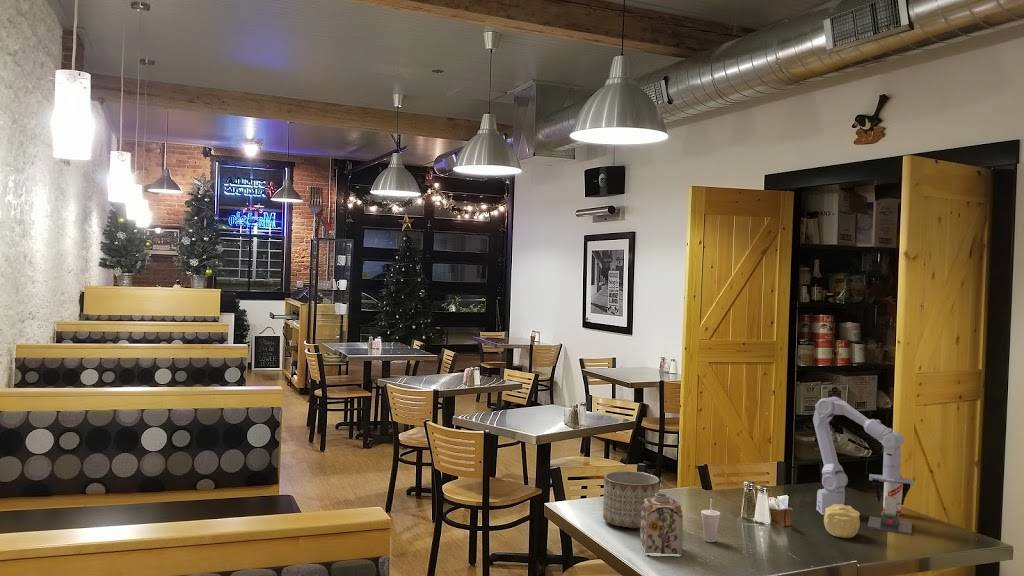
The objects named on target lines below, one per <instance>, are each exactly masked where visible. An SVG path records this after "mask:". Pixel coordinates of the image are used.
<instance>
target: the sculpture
mask: <svg viewBox="0 0 1024 576" xmlns="http://www.w3.org/2000/svg"><path fill="white" fill-rule="evenodd" d="M825 512H826V513H825V515H823V524H824V527H825V530H826V531H827V532H828V534H830V535H831V536H833V537H837V538H843V539H852V538H853V537H855V536H856V535H857V534H858V532H859V529H860V525H861V519H860V515H861V513H860V512H859V511H858V510H856V509H855V508H853V507H852V506H851V505H845V504H844V505H843V504H841V505H837V504H833V505H832V506H830V507H828V508H826V509H825Z"/></svg>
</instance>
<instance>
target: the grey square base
mask: <svg viewBox="0 0 1024 576" xmlns="http://www.w3.org/2000/svg"><path fill="white" fill-rule="evenodd" d="M912 523H913V522H909V521H903V520H900V514H899V513H896V517H895V516H889V515H884V511H883V510H881V513H880V517H877V516H873V515H870V516H869V518H868V522H867V529H869V530H876V531H883V532H888V531H889V532H890V533H894V532H897V533H896V534H900V533H904V534H903V535H906V534H910V535H909V536H912V526H913V524H912ZM889 532H888V533H889Z"/></svg>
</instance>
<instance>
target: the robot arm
mask: <svg viewBox="0 0 1024 576" xmlns="http://www.w3.org/2000/svg"><path fill="white" fill-rule="evenodd" d="M814 408H815V410H814V413H813V418H812V421H813V426H814V431H815V435H816V439H817V443H818V447H819V450H820V451H819V452H820V455H821V459H822V462H823V466H822V470H821V473H822V477H821V483H822V486H823V488H822V489H821V488H820V489H817V492H816V508H815V510H816V511H817V512H818V513H820V514H821V515H822V516H825V513H826V512H825V509H826V508H828V507H830V506H832V505H833V504H837V505H841V504H843V505H845V497H846V495H845V494H846V489H845V487H846V486H847V485H848V482H849V479H848V476H847V474H846V473H845V471H844V468H843V466H842V465H841V464H840V463H839V460H838V456H837V455H838V454H837V451H836V448H835V444H834V440H833V434H832V432H831V427H830V421H831V420H832V418H833V417H834V416H836V415H841V416H845V417H847V418H849V420H852V421H854V422H855V423H857V424H859V426H862V427H863V429H864V432H865V433H867V434H868V435H870V436H871V437H873V438H875V440H877V441H879V442H880V443H881V445H882V446H883V456H882V457H883V460H882V461H883V462H882V474H872V473H869V474H868V475H869V476H868V477H869V478H868V481H872V482H871V484H872V486H873V488H874V490H875V494H876V499H877V502H881V482H883V483H884V482H889V483H896V484H902V498H901V506H904V504H905V499H906V497H907V495H908V493H909V491H910V490H911V487H914V486H915V480H914V479H910V478H905V477H902V478H901V477H900V473H901V465H902V464H901V463H902V447H901V446H903V444H904V443H905V442H904V441H905V439H904V436H903V435H902V434H901V433H900V432H899V431H898V430H897V431H896V430H893V429H892V428H891V427H887V426H886V425H884V424H882V421H881V420H880V419H875V418H871V419H869V418H868V417H866V416H865V415H864V414H862V413H860V412H859V411H858V410H857V409H855V408H854V407H853V406H851V405H850V404H849V403H847V401H845V400H843V399H841V398H840V397H837V396H830V397H826V398H825V397H823V398H820V399H819V400H818V401H817V402H816V403H815V404H814Z"/></svg>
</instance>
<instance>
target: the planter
mask: <svg viewBox="0 0 1024 576" xmlns="http://www.w3.org/2000/svg"><path fill="white" fill-rule="evenodd" d="M656 493H660V478H659V477H658V476H656V475H654V474H650V473H646V472H642V471H641V472H640V471H633V470H617V471H610V472H607V473H605V474H604V475H603V500H602V501H603V502H602V503H603V506H602V507H603V508H602V518H603V520H604V521H605V522H606V523H608V524H611V525H614V526H617V527H620V526H622V527H621V528H624V527H629V528H628V529H640V526H641V504H642V502H643V500H644V499H646V498H649V497H655V494H656Z"/></svg>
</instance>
